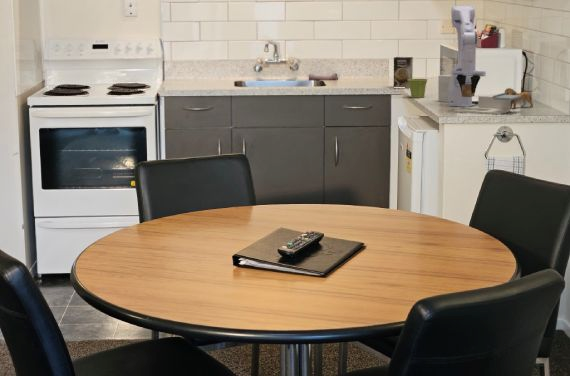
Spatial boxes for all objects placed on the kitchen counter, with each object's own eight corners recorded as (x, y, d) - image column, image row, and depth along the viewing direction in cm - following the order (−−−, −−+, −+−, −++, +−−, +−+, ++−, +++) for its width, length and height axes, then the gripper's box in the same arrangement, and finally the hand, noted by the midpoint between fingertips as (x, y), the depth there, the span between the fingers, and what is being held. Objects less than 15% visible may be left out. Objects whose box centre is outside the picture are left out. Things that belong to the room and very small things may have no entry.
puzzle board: (454, 112, 406) (454, 98, 405) (466, 108, 416) (466, 95, 415) (499, 114, 395) (499, 100, 394) (510, 111, 405) (510, 97, 403)
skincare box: (454, 101, 442) (454, 75, 440) (449, 102, 439) (449, 76, 437) (442, 100, 446) (443, 74, 444) (437, 101, 443) (438, 75, 441)
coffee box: (393, 88, 502) (393, 57, 498) (395, 87, 508) (395, 56, 504) (410, 88, 499) (410, 57, 495) (412, 87, 505) (412, 56, 501)
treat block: (461, 96, 407) (461, 84, 406) (465, 95, 410) (465, 84, 409) (470, 97, 405) (470, 85, 404) (474, 96, 408) (474, 84, 407)
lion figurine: (508, 109, 409) (509, 88, 407) (501, 108, 414) (501, 87, 412) (536, 107, 415) (537, 86, 413) (528, 106, 419) (529, 85, 417)
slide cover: (492, 99, 396) (492, 95, 396) (502, 96, 405) (502, 93, 405) (511, 100, 392) (511, 96, 392) (521, 97, 401) (521, 94, 400)
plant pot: (404, 97, 463) (404, 79, 461) (421, 96, 467) (421, 78, 465) (413, 99, 455) (413, 80, 453) (431, 97, 458) (431, 79, 456)
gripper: (448, 61, 405) (448, 93, 408) (481, 61, 397) (480, 94, 400) (455, 59, 411) (455, 91, 414) (487, 60, 403) (487, 92, 406)
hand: (468, 93), depth 407 cm, fingers closed on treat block, 4 cm apart
